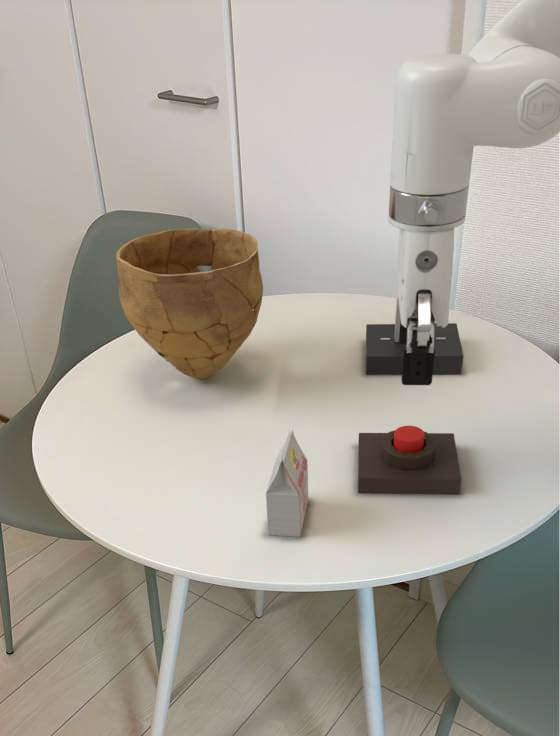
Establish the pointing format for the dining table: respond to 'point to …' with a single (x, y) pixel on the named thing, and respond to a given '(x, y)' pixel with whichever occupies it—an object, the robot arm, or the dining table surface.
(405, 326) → the robot arm
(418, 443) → the power button
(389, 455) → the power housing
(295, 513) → the milk carton
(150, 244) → the bowl
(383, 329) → the black flat block
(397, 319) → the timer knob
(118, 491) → the dining table surface
